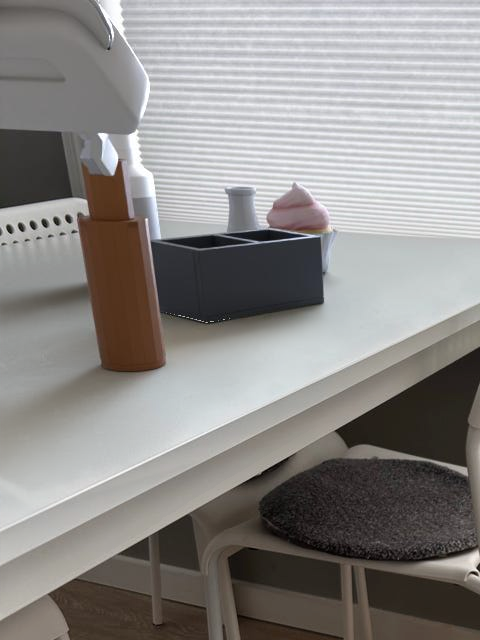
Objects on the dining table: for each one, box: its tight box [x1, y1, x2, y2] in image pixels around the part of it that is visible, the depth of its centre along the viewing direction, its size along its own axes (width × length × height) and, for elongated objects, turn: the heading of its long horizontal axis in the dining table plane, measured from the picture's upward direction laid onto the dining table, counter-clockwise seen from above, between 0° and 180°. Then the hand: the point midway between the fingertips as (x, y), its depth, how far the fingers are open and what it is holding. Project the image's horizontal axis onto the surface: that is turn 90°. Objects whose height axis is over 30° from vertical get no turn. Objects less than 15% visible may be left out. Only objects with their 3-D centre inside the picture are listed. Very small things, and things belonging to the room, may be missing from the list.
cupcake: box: [262, 181, 340, 273], centre depth 115 cm, size 9×9×10 cm
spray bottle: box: [108, 133, 162, 240], centre depth 104 cm, size 7×7×18 cm
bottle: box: [76, 158, 167, 372], centre depth 74 cm, size 5×5×15 cm
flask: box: [224, 186, 261, 232], centre depth 107 cm, size 7×7×10 cm
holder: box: [150, 227, 325, 325], centre depth 97 cm, size 8×15×7 cm, turn 141°
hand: (40, 164), depth 63 cm, fingers open, 8 cm apart
